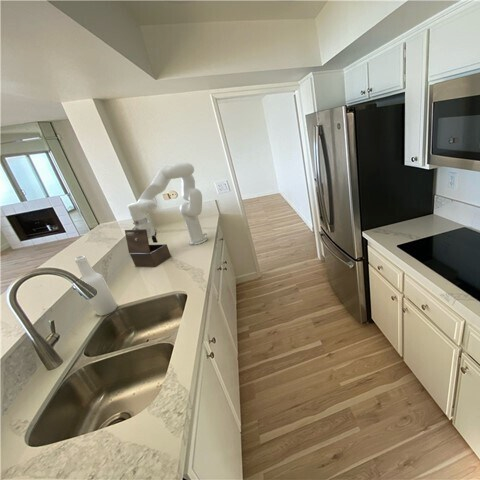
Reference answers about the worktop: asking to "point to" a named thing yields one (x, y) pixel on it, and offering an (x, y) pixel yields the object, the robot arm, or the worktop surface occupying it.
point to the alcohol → (97, 288)
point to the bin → (151, 256)
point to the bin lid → (139, 245)
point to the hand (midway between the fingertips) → (150, 245)
